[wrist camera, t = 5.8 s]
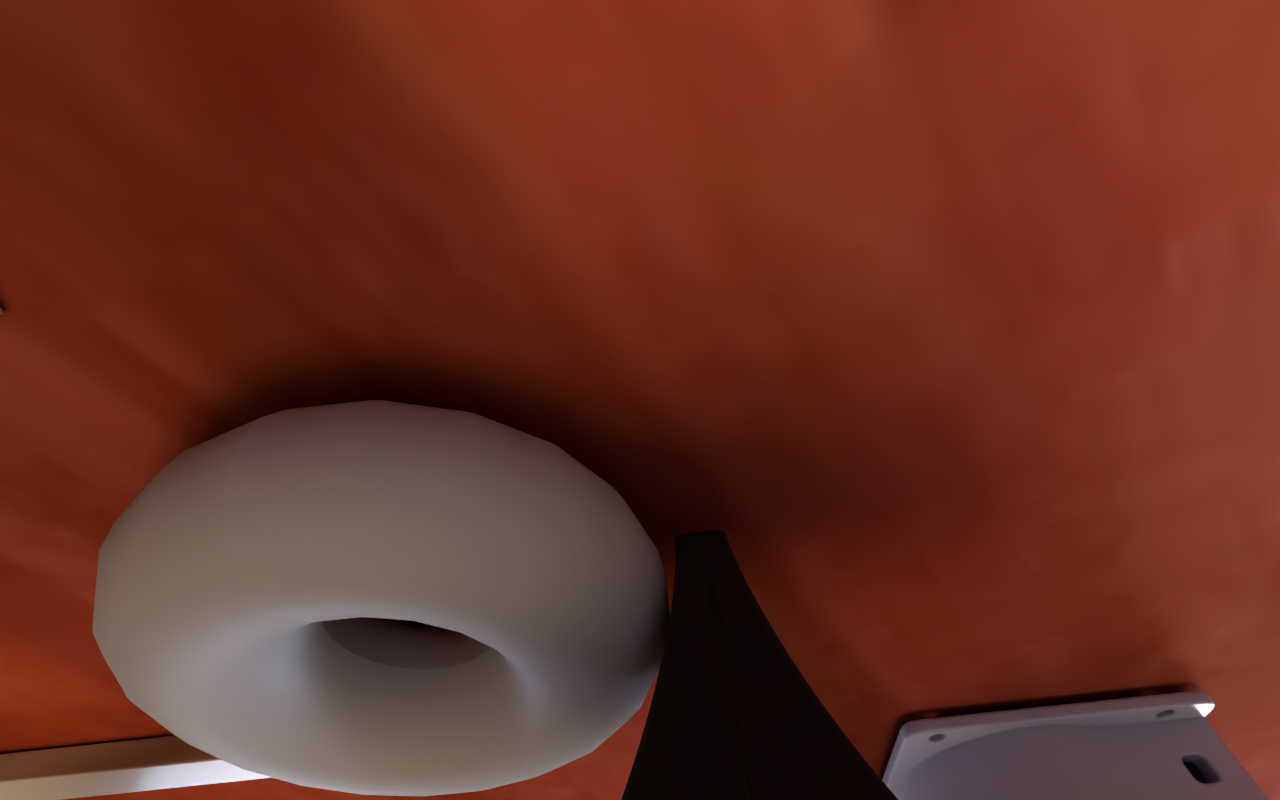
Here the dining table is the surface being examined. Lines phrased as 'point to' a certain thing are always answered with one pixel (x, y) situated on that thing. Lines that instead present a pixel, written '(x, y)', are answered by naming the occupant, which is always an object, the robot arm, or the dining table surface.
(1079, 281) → the dining table surface
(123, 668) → the donut
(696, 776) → the robot arm
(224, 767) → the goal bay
